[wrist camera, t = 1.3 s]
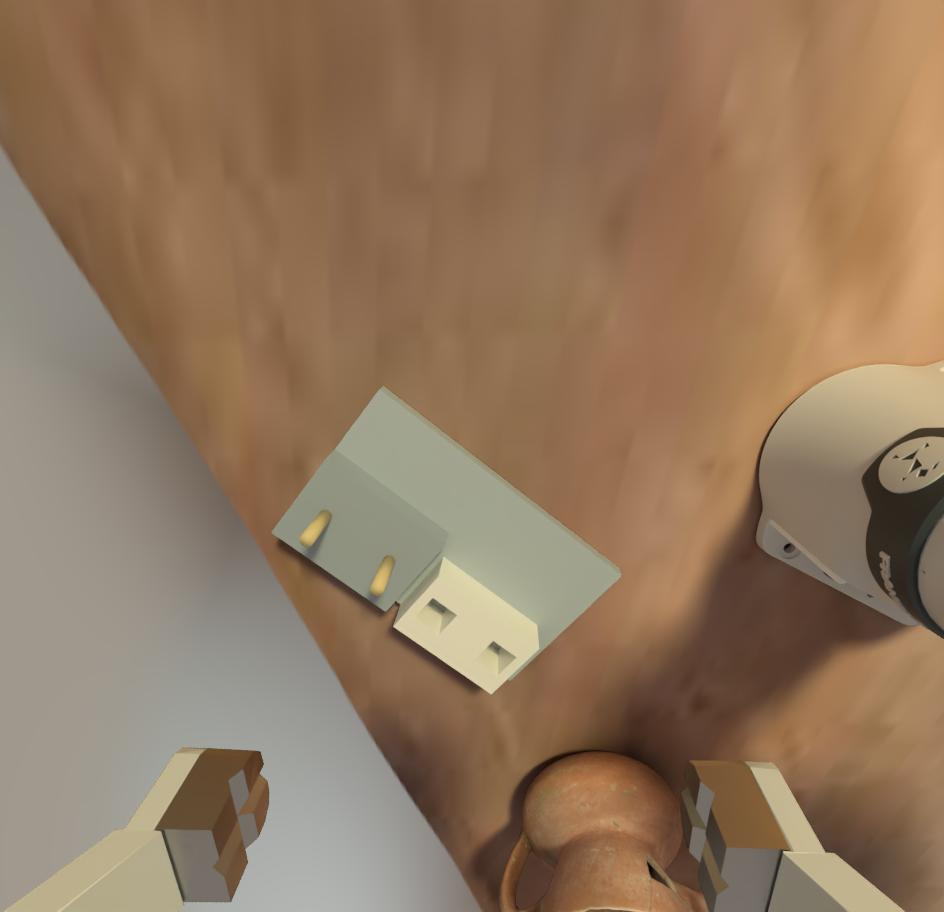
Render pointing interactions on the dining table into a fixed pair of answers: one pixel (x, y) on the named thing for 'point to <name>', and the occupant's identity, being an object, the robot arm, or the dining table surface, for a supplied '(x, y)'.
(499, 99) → the dining table surface
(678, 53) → the dining table surface
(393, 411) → the grey-green stepped plate
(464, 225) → the dining table surface
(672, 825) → the ceramic jug
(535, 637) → the two-hole cream block
